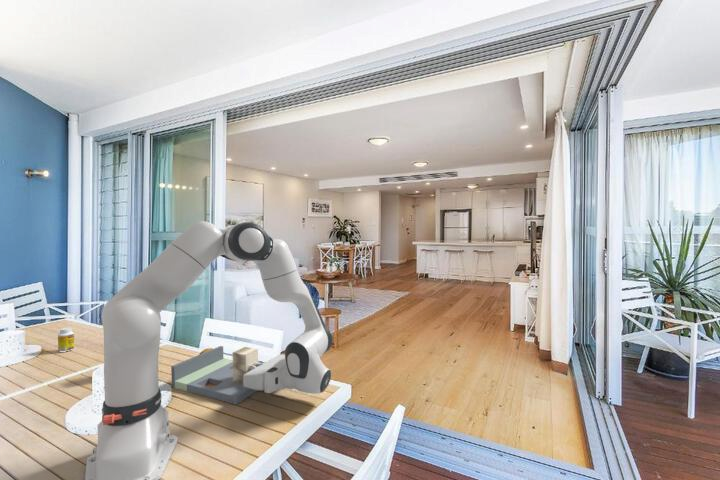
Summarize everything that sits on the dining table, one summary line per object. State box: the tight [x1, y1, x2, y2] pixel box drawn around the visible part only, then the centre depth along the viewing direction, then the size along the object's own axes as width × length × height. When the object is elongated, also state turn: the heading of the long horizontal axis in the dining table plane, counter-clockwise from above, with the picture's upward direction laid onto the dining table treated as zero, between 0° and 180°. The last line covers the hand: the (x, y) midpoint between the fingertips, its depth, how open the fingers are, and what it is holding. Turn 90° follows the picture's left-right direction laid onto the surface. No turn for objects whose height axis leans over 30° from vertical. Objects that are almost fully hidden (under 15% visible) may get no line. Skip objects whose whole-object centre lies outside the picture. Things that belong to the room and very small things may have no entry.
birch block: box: [231, 346, 259, 383], centre depth 118 cm, size 6×6×10 cm
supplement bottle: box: [57, 326, 75, 352], centre depth 154 cm, size 6×6×10 cm
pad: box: [174, 358, 233, 392], centre depth 126 cm, size 6×22×2 cm, turn 156°
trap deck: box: [170, 345, 259, 406], centre depth 121 cm, size 30×22×8 cm
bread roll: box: [198, 347, 214, 355], centre depth 143 cm, size 8×9×4 cm
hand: (252, 366), depth 117 cm, fingers closed, pressing on birch block
